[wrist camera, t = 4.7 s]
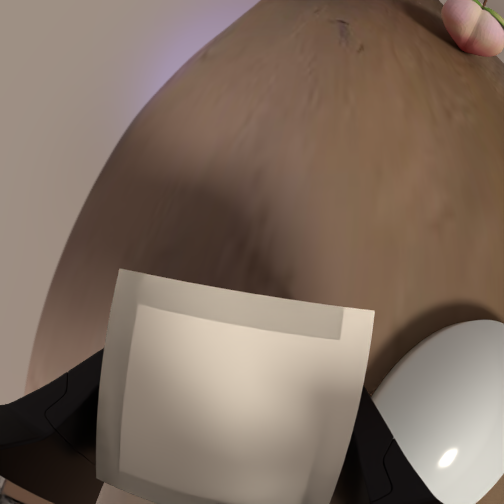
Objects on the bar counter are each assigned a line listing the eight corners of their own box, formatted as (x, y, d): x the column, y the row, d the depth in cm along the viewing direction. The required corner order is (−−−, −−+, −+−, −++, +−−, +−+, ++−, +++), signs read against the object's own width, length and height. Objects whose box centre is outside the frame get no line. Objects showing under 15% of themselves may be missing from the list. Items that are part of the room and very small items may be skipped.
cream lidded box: (290, 421, 14) (318, 529, 4) (189, 402, 14) (96, 478, 5) (309, 322, 15) (374, 310, 6) (206, 305, 16) (119, 268, 6)
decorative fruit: (490, 61, 22) (516, 17, 12) (487, 80, 21) (519, 29, 11) (437, 24, 24) (456, -24, 14) (426, 37, 23) (448, -21, 13)
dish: (397, 549, 10) (403, 558, 8) (297, 434, 14) (299, 443, 12) (534, 417, 11) (545, 418, 10) (480, 274, 15) (493, 269, 14)
